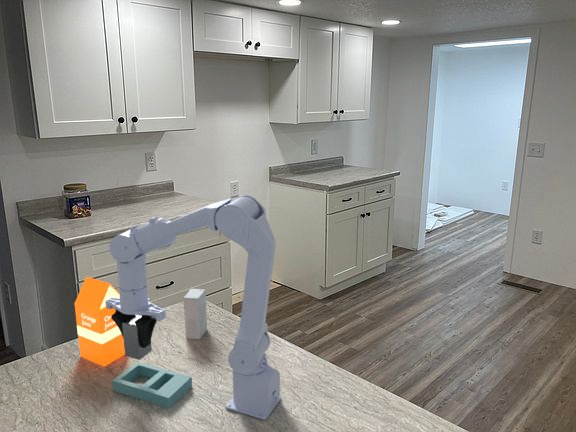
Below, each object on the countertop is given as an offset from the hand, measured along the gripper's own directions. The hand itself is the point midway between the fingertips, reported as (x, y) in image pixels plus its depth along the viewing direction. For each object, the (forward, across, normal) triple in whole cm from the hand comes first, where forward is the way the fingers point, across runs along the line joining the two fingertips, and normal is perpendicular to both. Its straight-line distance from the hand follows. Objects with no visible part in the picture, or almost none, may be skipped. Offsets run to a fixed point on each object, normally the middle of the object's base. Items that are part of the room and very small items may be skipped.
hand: (137, 343), depth 103 cm
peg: (+2, 0, 0) cm, 2 cm away
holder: (+10, -3, 0) cm, 11 cm away
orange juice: (+11, +17, -6) cm, 21 cm away
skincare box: (+11, +2, -24) cm, 27 cm away
